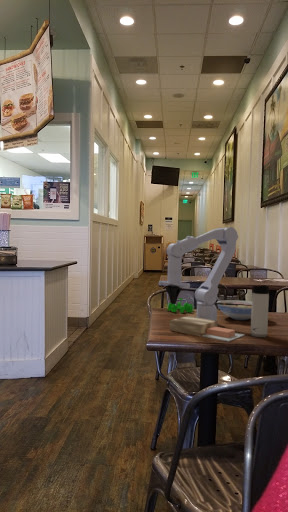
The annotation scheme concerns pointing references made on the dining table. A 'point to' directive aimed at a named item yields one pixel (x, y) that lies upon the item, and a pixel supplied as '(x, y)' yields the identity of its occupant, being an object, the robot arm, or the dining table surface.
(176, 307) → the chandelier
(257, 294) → the travel mug
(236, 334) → the mat
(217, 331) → the terracotta brown block
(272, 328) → the dining table surface
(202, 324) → the board
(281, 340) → the dining table surface
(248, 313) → the ramen bowl
